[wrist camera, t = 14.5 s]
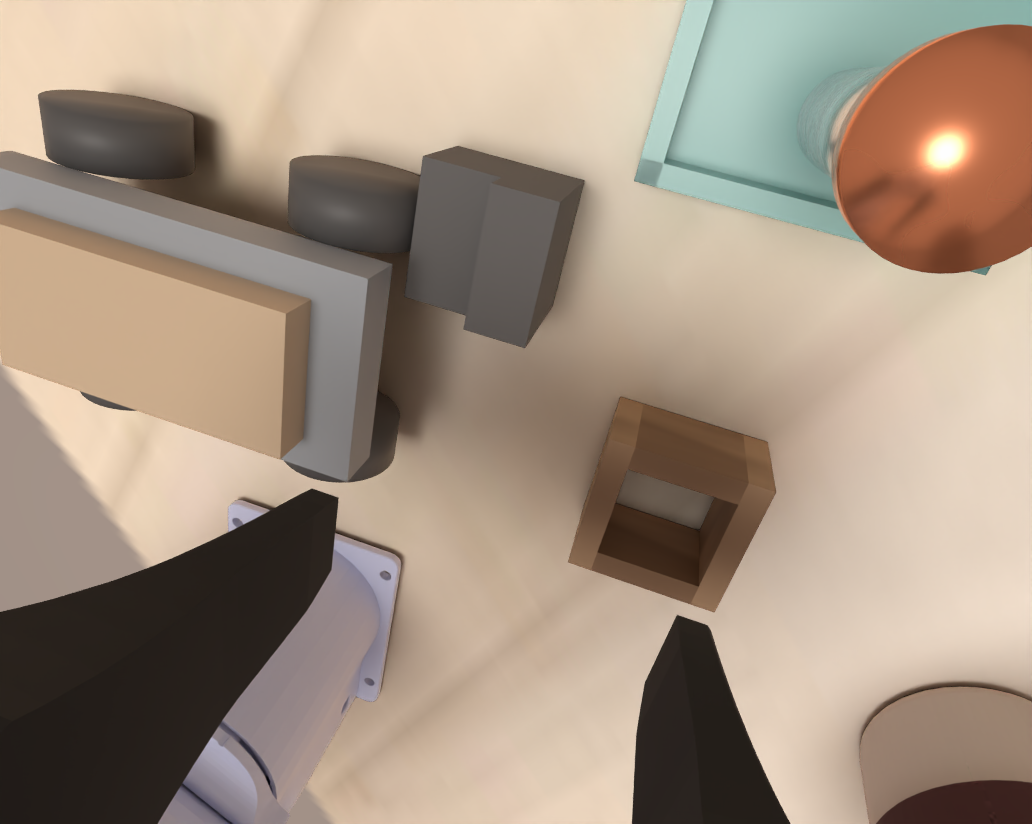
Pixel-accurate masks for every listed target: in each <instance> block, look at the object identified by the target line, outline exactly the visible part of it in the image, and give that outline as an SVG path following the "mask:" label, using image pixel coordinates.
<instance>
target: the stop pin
mask: <svg viewBox="0 0 1032 824" xmlns="http://www.w3.org/2000/svg"><path fill="white" fill-rule="evenodd" d="M797 138H798V143H799V146H800V148H801V150H802V152H803V154H804V155H805V156H806V158H807V159H808V160H809V161H810V162H812V163H813V164H814V165H815V166H817V167H818V168H819V169H820V170H822V171H823V172H824V173H825V174H827V175H828V176H829V177H830V178H832V186H833V192H834V197H835V200H836V203H837V206H838V208H839V210H840V212H841V214H842V216H843V218H844V220H845V221H846V222H847V224H848V225H849V227H850V228H851V229H852V230H853V231H854V232H855V233H856V234H857V235H858V236H859V238H860V239H861V240H862V241H863V242H864V243H865V244H866V245H867V246H868V247H869V248H870V249H871V250H873V251H874V252H876V253H877V254H878V255H880V256H881V257H882V258H884V259H886V260H888V261H890V262H892V263H894V264H896V265H899V266H902V267H904V268H907V269H911V270H916V271H920V272H927V273H938V274H939V273H959V272H966V271H972V270H976V269H980V268H984V267H988V266H991V265H994V264H997V263H999V262H1002V261H1005V260H1007V259H1009V258H1011V257H1013V256H1015V255H1018V254H1020V253H1022V252H1023V251H1025V250H1027V249H1028V248H1030V247H1032V26H1027V25H1013V24H1002V25H993V26H984V27H978V28H973V29H967V30H962V31H958V32H954V33H950V34H945V35H943V36H940V37H937V38H934V39H932V40H929V41H927V42H925V43H923V44H921V45H919V46H917V47H915V48H913V49H911V50H909V51H908V52H906V53H905V54H903V55H902V56H900V57H898V58H897V59H896V60H894V61H893V62H892V63H891V64H889V65H888V66H883V67H866V68H852V69H847V70H843V71H840V72H837V73H835V74H833V75H831V76H829V77H828V78H826V79H825V80H823V81H822V82H821V83H820V84H818V85H817V86H816V87H815V88H814V89H813V90H812V92H811V93H810V94H809V95H808V97H807V98H806V100H805V102H804V103H803V106H802V108H801V110H800V113H799V116H798V121H797Z"/></svg>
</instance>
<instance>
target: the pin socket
mask: <svg viewBox="0 0 1032 824" xmlns="http://www.w3.org/2000/svg"><path fill="white" fill-rule="evenodd" d="M627 469H629V470H632V471H635V472H638V473H641V474H644V475H647V476H650V477H654V478H657V479H660V480H663V481H666V482H669V483H672V484H675V485H678V486H682V487H685V488H688V489H691V490H694V491H697V492H700V493H703V494H706V495H709V496H713V497H715V498H714V500H713V502H712V505H711V507H710V509H709V511H708V513H707V516H706V518H705V520H704V522H703V524H702V527H701V529H700V531H698V530H695V529H692V528H689V527H685V526H682V525H679V524H676V523H673V522H670V521H667V520H664V519H661V518H658V517H655V516H652V515H649V514H646V513H643V512H640V511H637V510H634V509H631V508H628V507H625V506H622V505H619V504H616V503H615V502H616V499H617V497H618V494H619V491H620V488H621V486H622V483H623V480H624V477H625V475H626V472H627ZM775 493H776V488H775V483H774V477H773V471H772V465H771V460H770V454H769V448H768V442H765V441H762V440H759V439H756V438H752V437H749V436H746V435H743V434H739V433H736V432H733V431H730V430H726V429H723V428H720V427H717V426H713V425H710V424H707V423H704V422H701V421H697V420H694V419H691V418H688V417H684V416H681V415H678V414H675V413H671V412H668V411H665V410H662V409H658V408H655V407H652V406H649V405H646V404H642V403H639V402H636V401H633V400H629V399H626V398H623V397H620V400H619V403H618V406H617V409H616V412H615V415H614V418H613V421H612V424H611V427H610V430H609V433H608V436H607V439H606V442H605V445H604V448H603V451H602V454H601V457H600V460H599V463H598V466H597V469H596V472H595V475H594V478H593V481H592V484H591V487H590V490H589V493H588V496H587V499H586V501H585V504H584V507H583V510H582V514H581V517H580V521H579V525H578V528H577V532H576V535H575V539H574V542H573V546H572V550H571V553H570V557H569V560H568V562H569V563H572V564H575V565H577V566H580V567H583V568H586V569H589V570H592V571H595V572H598V573H601V574H604V575H607V576H610V577H612V578H615V579H618V580H621V581H624V582H627V583H630V584H633V585H636V586H639V587H642V588H644V589H647V590H650V591H653V592H656V593H659V594H662V595H665V596H668V597H671V598H674V599H677V600H679V601H682V602H685V603H688V604H691V605H694V606H697V607H700V608H703V609H706V610H709V611H712V612H715V610H716V608H717V606H718V605H719V603H720V601H721V599H722V597H723V595H724V593H725V591H726V589H727V587H728V585H729V583H730V581H731V579H732V577H733V575H734V573H735V571H736V569H737V567H738V566H739V564H740V562H741V560H742V558H743V556H744V554H745V552H746V550H747V548H748V546H749V544H750V542H751V540H752V538H753V536H754V534H755V532H756V530H757V528H758V527H759V525H760V523H761V521H762V519H763V517H764V515H765V513H766V511H767V509H768V507H769V505H770V503H771V501H772V499H773V497H774V495H775Z"/></svg>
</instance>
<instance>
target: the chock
mask: <svg viewBox="0 0 1032 824" xmlns="http://www.w3.org/2000/svg"><path fill="white" fill-rule="evenodd" d="M584 181H585V180H581V179H577V178H574V177H570V176H566V175H563V174H559V173H555V172H552V171H548V170H544V169H541V168H537V167H533V166H529V165H526V164H522V163H518V162H515V161H511V160H507V159H504V158H500V157H496V156H493V155H489V154H485V153H482V152H478V151H474V150H471V149H467V148H463V147H459V146H456V147H453V148H449V149H446V150H442V151H439V152H435V153H432V154H428V155H425V156H423V160H422V168H421V175H420V183H419V190H418V198H417V205H416V212H415V220H414V227H413V235H412V242H411V250H410V257H409V265H408V272H407V280H406V287H405V295H404V297H407V298H410V299H413V300H417V301H420V302H423V303H427V304H430V305H433V306H436V307H440V308H443V309H446V310H450V311H453V312H456V313H460V314H463V315H466V319H465V324H464V330H467V331H470V332H474V333H477V334H480V335H484V336H487V337H490V338H493V339H497V340H500V341H503V342H506V343H510V344H513V345H516V346H520V347H523V348H525V347H526V346H527V344H528V343H529V341H530V340H531V338H532V337H533V335H534V334H535V332H536V330H537V329H538V327H539V326H540V324H541V323H542V321H543V320H544V318H545V317H546V315H547V314H548V312H549V311H550V309H551V307H552V306H553V302H554V298H555V294H556V291H557V287H558V283H559V279H560V275H561V271H562V267H563V263H564V259H565V255H566V251H567V247H568V243H569V240H570V236H571V232H572V228H573V224H574V220H575V216H576V212H577V208H578V204H579V200H580V196H581V193H582V189H583V185H584Z"/></svg>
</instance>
